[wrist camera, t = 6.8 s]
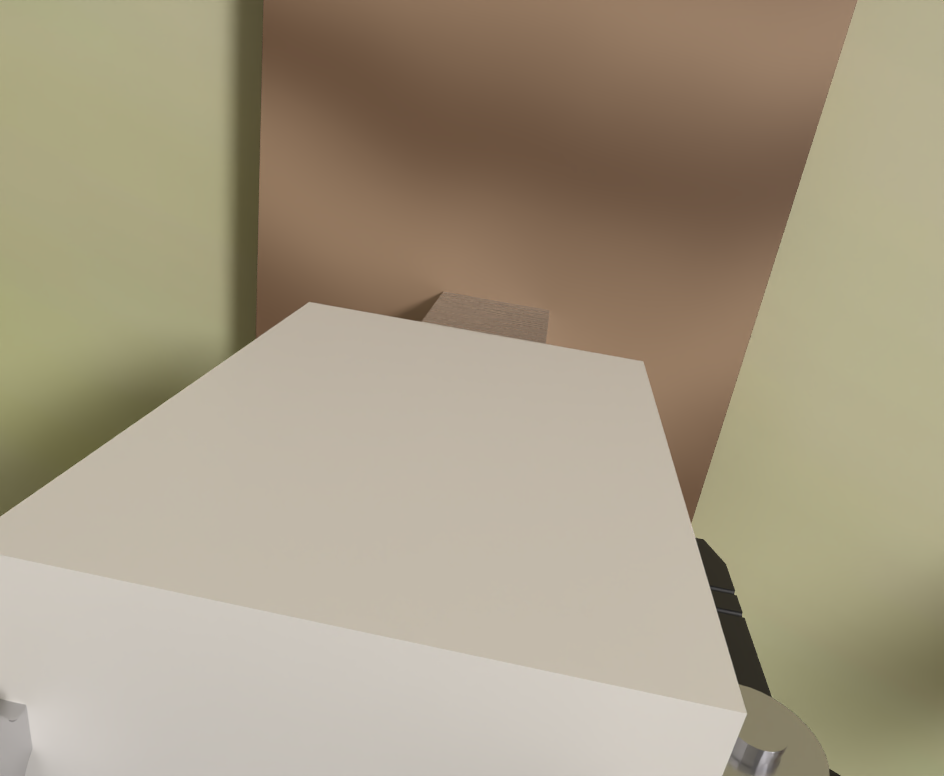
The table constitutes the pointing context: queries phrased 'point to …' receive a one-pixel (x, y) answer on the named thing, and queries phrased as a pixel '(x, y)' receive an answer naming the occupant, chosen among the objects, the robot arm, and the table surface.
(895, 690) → the table surface
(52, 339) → the table surface
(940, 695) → the table surface
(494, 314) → the post
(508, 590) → the white rectangular block
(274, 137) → the board
